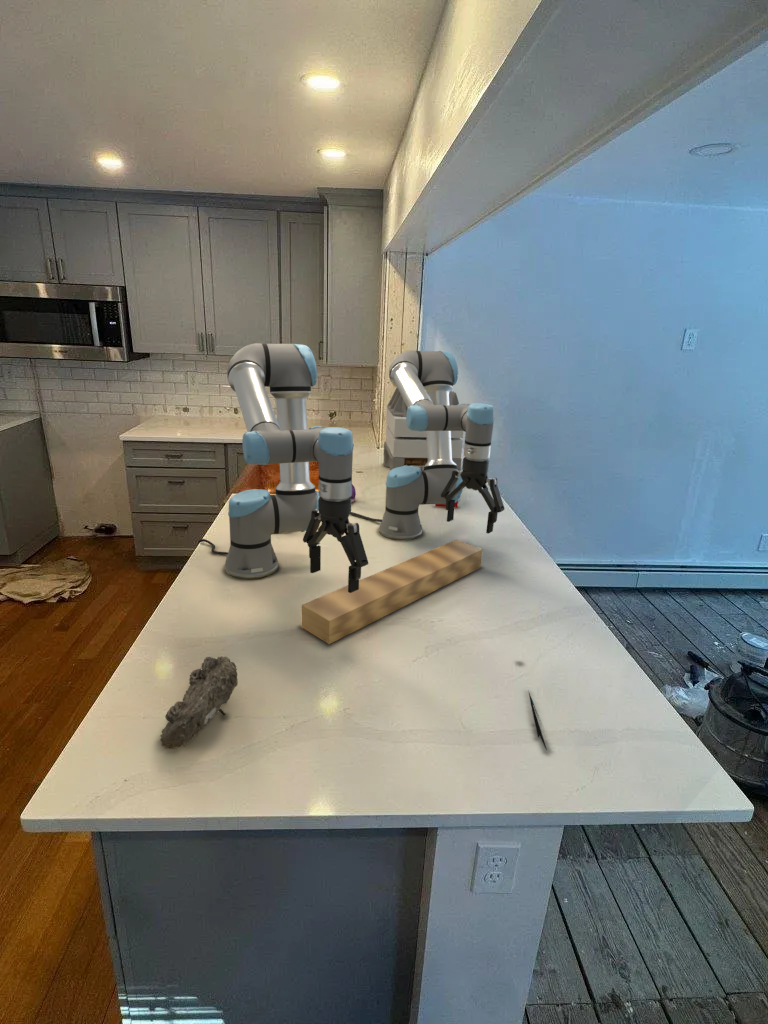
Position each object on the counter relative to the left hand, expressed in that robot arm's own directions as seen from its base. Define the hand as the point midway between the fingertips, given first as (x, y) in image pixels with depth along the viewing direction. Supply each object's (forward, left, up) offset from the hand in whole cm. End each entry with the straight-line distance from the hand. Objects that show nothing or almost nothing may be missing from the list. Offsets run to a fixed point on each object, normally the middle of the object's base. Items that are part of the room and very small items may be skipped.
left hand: (333, 580), depth 136 cm
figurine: (-75, +60, -13) cm, 97 cm away
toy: (-57, +98, -13) cm, 114 cm away
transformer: (-89, +116, -13) cm, 146 cm away
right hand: (-4, +53, +1) cm, 53 cm away
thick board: (-3, +25, -13) cm, 29 cm away
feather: (+48, +15, -13) cm, 52 cm away
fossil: (+11, -38, -13) cm, 41 cm away
